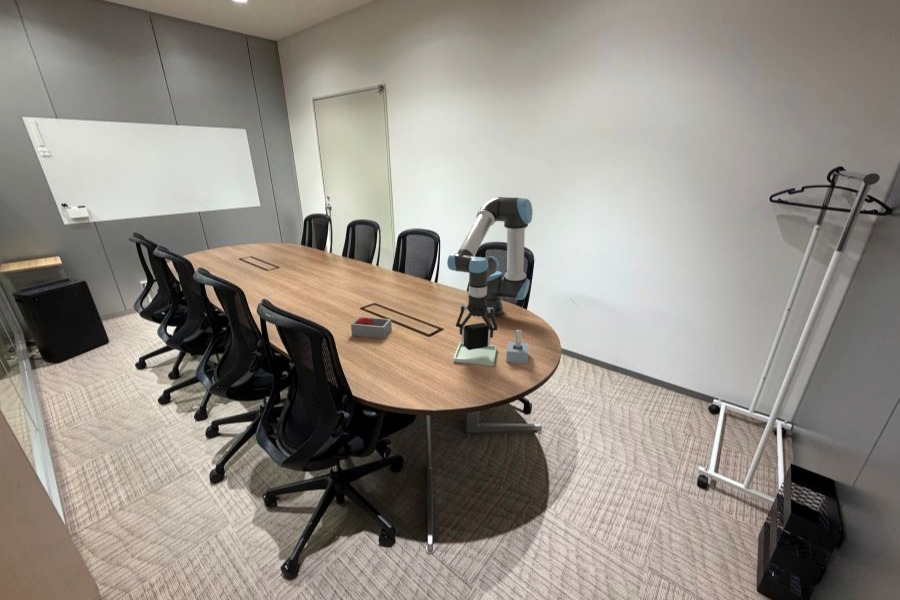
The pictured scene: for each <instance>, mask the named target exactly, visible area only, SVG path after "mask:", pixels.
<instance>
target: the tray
mask: <svg viewBox="0 0 900 600" xmlns="http://www.w3.org/2000/svg"><path fill="white" fill-rule="evenodd" d="M497 348H498V345H491V344H490V345H488V346H487V347H484V348H478V349H473V350H468V349H467V348H466V347H465V346H464V343H462V341H461V342H459V343H458V345H457V348H456V351H455V352H454V356H453V360H452V361H453V363H458V364H459V363H461V364H470V365H478V366H487V367H488V366H489V367H494V366H495V361H496V354H497V351H498V350H497Z"/></svg>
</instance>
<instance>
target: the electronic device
mask: <svg viewBox="0 0 900 600" xmlns="http://www.w3.org/2000/svg"><path fill="white" fill-rule="evenodd" d="M463 327H464V346H465V347H466V348H467V349H468V350H473V349H478V348H484V347H487V346H488V331H489V328H488V326H487V324H486V323H485V322H480V323H479V322H477V323H471V324H467V325H466V324H465V325H464V326H463Z"/></svg>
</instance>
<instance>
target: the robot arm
mask: <svg viewBox="0 0 900 600" xmlns="http://www.w3.org/2000/svg"><path fill="white" fill-rule="evenodd" d="M532 206H533V205H532V203H531V201H530V199H528V198H525V197H524V198H523V197H509V196H508V197H507V196H505V197H503V196H498V197H497V196H496V197H494V198H492V199H490V200H488V201H487V202H485V203H484V204H483V205H482V206H481V207H480V209H479V210H478V211H477V214H476V215H475V216H476V219H475V221H474V223H473V224H472V226H471V228H470V230H469V232H468V234H467V235H466V236H465V239H464V241H463V242H462V244H461V246H460V248H459V250H458V251H457V253H450V254H449V256H448V257H447V268H448V269H449V270H450V271H454V272H460V273H461V272H462V273H467V274H468V277H469V278H468V303H467V304H468V305H464V304H462V305H461V306H460V313H459V316H458V318H457V321H456V324H455V327H456V328H459V335H460V336H461V342H462V343H464V326H466V324H467V322H468V321H469V320H470V319H471V317H472V316H473V317H478V318H482V319H483V321H484V323H485V324H486V325H487V326H488V328H489V331H488V345H491V339H493V337H494V331H498V328H499V327H498V323H497V319H496V317H498V315H499V316H501V315H503V313H504V306H503V302H502V298H508V299H512V300H516V301H517V300H519V301H521V300H524V299H526V297H527V294H528V292H529V289H530V279H528V278H527V274H526V273H525V271H524V264H525V263H524V262H525V235H526V234H525V232H526V229H527V228H528V226H529V224H530V223H531V222H532V219H533V207H532ZM496 222H503V225H504V226H503V227H504V228H505V230H507V231H506V232H507V233H506V235H507V236H506V237H507V238H506V239H507V240H506V241H507V243H506V245H507V246H506V272H505V273H504V275H503V272H502V271H499V268H500V262H499V260H498V258H497V257H495V256H492V255H489V256H486V257H484V256H483V257H482V256H475V255H476V254H477V252H478V250H479V247H480V246H481V244H482V242H483V241H484V239H485V237H486V235H487V233H488V232H489V230H490V228H491V227H492V226H493V225H494V224H495V223H496ZM467 310H468V314H467V316H466V317H465V318H464V319H463V321H462V318H463V316H464V313H465V311H467ZM500 314H501V315H500ZM489 317H490V318H491V321H490V319H489ZM461 321H462V322H461Z"/></svg>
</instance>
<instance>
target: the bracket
mask: <svg viewBox="0 0 900 600" xmlns="http://www.w3.org/2000/svg"><path fill="white" fill-rule="evenodd" d="M361 317H362V318H360V319H359V321H358V323H357V324H362V323H363V322H367V325H372V324H371V320H370V319H369V318H367V317H368V316H361Z"/></svg>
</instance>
